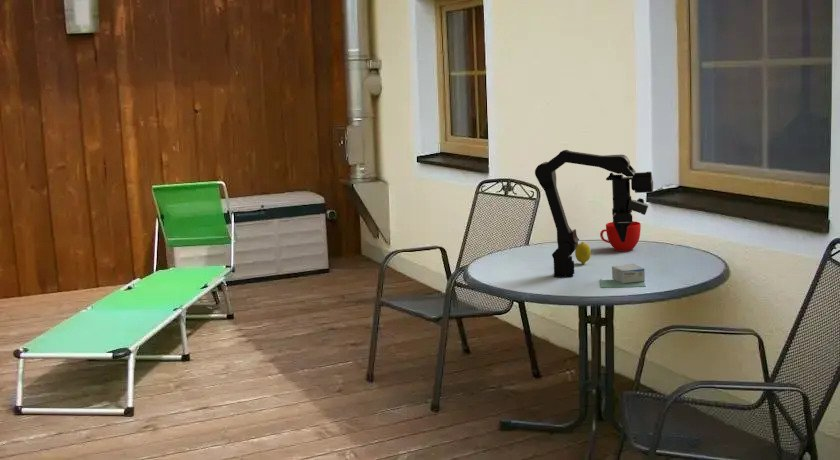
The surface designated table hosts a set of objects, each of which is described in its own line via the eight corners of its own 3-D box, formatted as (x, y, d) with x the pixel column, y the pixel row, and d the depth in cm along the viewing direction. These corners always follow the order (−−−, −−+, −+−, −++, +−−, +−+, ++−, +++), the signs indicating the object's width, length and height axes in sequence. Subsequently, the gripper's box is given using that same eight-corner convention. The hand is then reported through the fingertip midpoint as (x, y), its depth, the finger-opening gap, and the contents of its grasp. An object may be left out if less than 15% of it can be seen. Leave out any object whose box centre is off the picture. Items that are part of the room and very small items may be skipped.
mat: (600, 287, 310) (600, 287, 309) (599, 280, 320) (599, 279, 320) (645, 286, 307) (645, 286, 307) (643, 279, 318) (643, 278, 317)
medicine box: (611, 278, 320) (622, 284, 312) (611, 265, 319) (622, 270, 311) (634, 276, 322) (645, 281, 313) (633, 263, 321) (644, 268, 312)
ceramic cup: (591, 250, 370) (590, 225, 368) (627, 245, 377) (626, 219, 375) (611, 255, 358) (610, 229, 357) (648, 249, 365) (647, 223, 363)
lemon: (580, 266, 344) (580, 244, 342) (572, 263, 349) (571, 241, 348) (594, 264, 346) (593, 242, 344) (585, 261, 351) (585, 240, 350)
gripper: (647, 196, 309) (649, 243, 312) (644, 188, 327) (646, 233, 330) (612, 197, 311) (613, 245, 314) (611, 189, 329) (613, 234, 332)
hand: (622, 239), depth 322 cm, fingers open, 9 cm apart
